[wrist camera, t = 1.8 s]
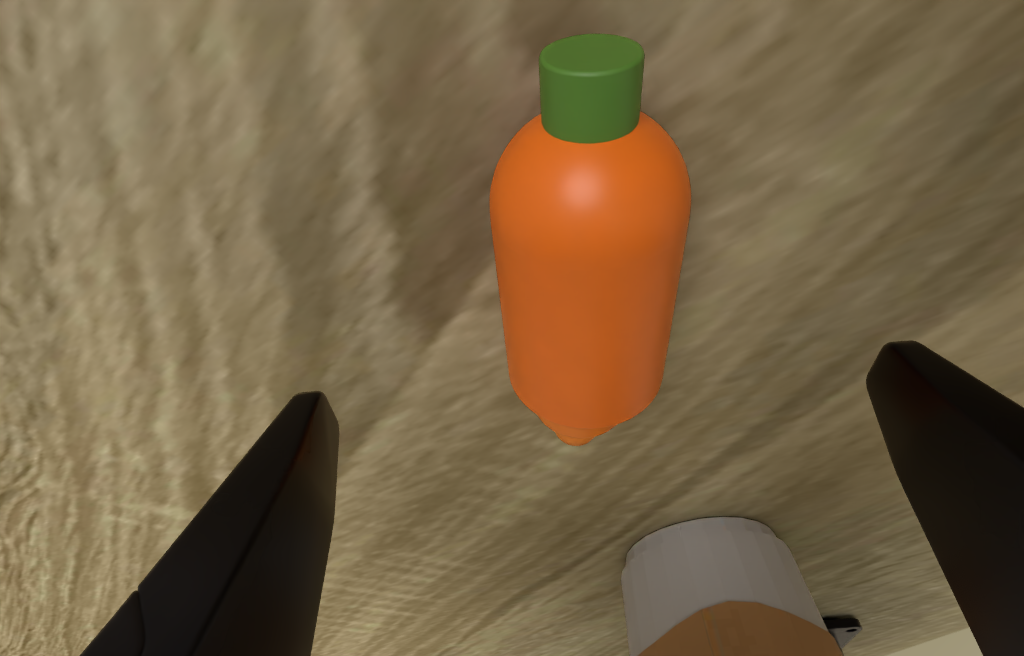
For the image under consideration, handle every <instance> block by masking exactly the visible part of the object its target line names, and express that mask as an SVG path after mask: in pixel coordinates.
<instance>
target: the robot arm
mask: <svg viewBox="0 0 1024 656" xmlns="http://www.w3.org/2000/svg"><path fill="white" fill-rule="evenodd" d="M866 385H867V390H868V394H869V396H870V399H871V402H872V405H873V408H874V411H875V414H876V417H877V420H878V423H879V425H880V428H881V431H882V434H883V437H884V440H885V443H886V446H887V449H888V452H889V454H890V457H891V460H892V463H893V465H894V468H895V471H896V473H897V476H898V478H899V480H900V482H901V484H902V487H903V489H904V491H905V493H906V495H907V497H908V499H909V501H910V503H911V506H912V508H913V510H914V512H915V514H916V516H917V518H918V520H919V522H920V524H921V526H922V529H923V531H924V533H925V535H926V537H927V539H928V541H929V543H930V545H931V547H932V549H933V552H934V554H935V556H936V558H937V560H938V562H939V564H940V566H941V568H942V570H943V572H944V575H945V577H946V579H947V581H948V583H949V585H950V587H951V589H952V591H953V593H954V596H955V598H956V600H957V602H958V604H959V606H960V608H961V610H962V612H963V614H964V616H965V619H966V621H967V623H968V625H969V627H970V629H971V631H972V633H973V635H974V637H975V639H976V641H977V643H978V646H979V648H980V650H981V652H982V654H983V656H1024V408H1023V407H1022V406H1020V405H1018V404H1017V403H1015V402H1014V401H1012V400H1010V399H1009V398H1007V397H1006V396H1004V395H1002V394H1001V393H999V392H998V391H996V390H994V389H993V388H991V387H990V386H988V385H986V384H985V383H983V382H982V381H980V380H978V379H977V378H975V377H974V376H972V375H970V374H969V373H967V372H966V371H964V370H962V369H961V368H959V367H958V366H956V365H954V364H953V363H951V362H950V361H948V360H946V359H945V358H943V357H942V356H940V355H938V354H937V353H935V352H934V351H932V350H930V349H929V348H927V347H926V346H924V345H922V344H920V343H919V342H916V341H897V342H889V343H887V344H885V345H884V346H883V347H882V349H881V351H880V352H879V354H878V356H877V358H876V360H875V361H874V363H873V365H872V367H871V369H870V371H869V372H868V375H867V379H866ZM338 447H339V425H338V421H337V418H336V416H335V414H334V412H333V410H332V408H331V406H330V404H329V402H328V400H327V398H326V396H325V395H324V393H322V392H321V391H313V392H302V393H298V394H296V395H295V396H293V398H292V399H291V400H290V401H289V402H288V404H287V405H286V406H285V407H284V408H283V410H282V411H281V412H280V413H279V415H278V416H277V417H276V418H275V419H274V421H273V422H272V423H271V424H270V426H269V427H268V428H267V429H266V430H265V432H264V433H263V434H262V435H261V437H260V438H259V439H258V440H257V441H256V443H255V444H254V445H253V446H252V448H251V449H250V450H249V451H248V452H247V454H246V455H245V456H244V457H243V459H242V460H241V461H240V462H239V463H238V465H237V466H236V467H235V468H234V470H233V471H232V472H231V473H230V474H229V476H228V477H227V478H226V479H225V481H224V482H223V483H222V484H221V485H220V487H219V488H218V489H217V490H216V492H215V493H214V494H213V495H212V496H211V498H210V499H209V500H208V501H207V503H206V504H205V505H204V506H203V507H202V509H201V510H200V511H199V512H198V514H197V515H196V516H195V517H194V518H193V520H192V521H191V522H190V523H189V525H188V526H187V527H186V528H185V529H184V531H183V532H182V533H181V534H180V536H179V537H178V538H177V539H176V540H175V542H174V543H173V544H172V545H171V547H170V548H169V549H168V550H167V551H166V553H165V554H164V555H163V556H162V558H161V559H160V560H159V561H158V562H157V564H156V565H155V566H154V567H153V569H152V570H151V571H150V572H149V573H148V575H147V576H146V577H145V578H144V580H143V581H142V582H141V583H140V584H139V586H138V591H134V592H133V593H132V594H131V595H130V596H129V598H128V599H127V600H126V601H125V602H124V604H123V605H122V606H121V607H120V609H119V610H118V611H117V612H116V613H115V615H114V616H113V617H112V618H111V619H110V621H109V622H108V623H107V624H106V625H105V626H104V628H103V629H102V630H101V631H100V632H99V634H98V635H97V636H96V637H95V638H94V639H93V641H92V642H91V643H90V644H89V645H88V646H87V648H86V649H85V650H84V651H83V652H82V653H81V655H80V656H311V650H312V644H313V639H314V633H315V627H316V622H317V616H318V610H319V605H320V599H321V593H322V587H323V582H324V576H325V570H326V565H327V559H328V553H329V548H330V542H331V536H332V530H333V523H334V514H335V500H336V482H337V464H338ZM823 621H824V623H825V626H826V628H827V630H828V632H829V633H830V634H831V635H832V636H833V637H834V638H835V640H836V643H837V645H838V647H839V649H840V651H841V653H842V655H843V656H844V654H843V652H842V650H841V649H842V648H843V647H844V646H845V645H846V644H847V643H848V642H849V641H850V640H851V639H852V638H854V637H855V636H856V635H857V634H858V633H859V632H860V631H861V630H862V627H861V625H860V622H859V620H858V619H856V618H850V619H836V620H823Z"/></svg>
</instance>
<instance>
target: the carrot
mask: <svg viewBox="0 0 1024 656" xmlns="http://www.w3.org/2000/svg"><path fill="white" fill-rule="evenodd" d="M644 56H645V55H644V51H643V48H642V47H641V45H640V44H638V43H637V42H635V41H633V40H631V39H629V38H625V37H621V36H617V35H610V34H584V35H576V36H571V37H567V38H564V39H560V40H558V41H555V42H553V43H551V44H549V45H548V46H546V47H545V48H544V49H543V50H542V51H541V53H540V56H539V76H540V100H541V114H540V115H538V116H536V117H535V118H533V119H532V120H531V121H530V122H528V123H527V124H526V125H524V126H523V127H522V128H521V129H520V130H519V131H518V132H517V133H516V135H515V136H514V137H513V138H512V140H511V141H510V142H509V144H508V145H507V147H506V149H505V150H504V152H503V154H502V156H501V157H500V159H499V162H498V164H497V166H496V169H495V172H494V176H493V180H492V184H491V189H490V220H491V228H492V236H493V245H494V253H495V261H496V270H497V278H498V286H499V294H500V303H501V311H502V319H503V327H504V336H505V344H506V352H507V361H508V369H509V376H510V380H511V384H512V386H513V389H514V391H515V392H516V394H517V396H518V397H519V398H520V400H521V401H522V402H523V403H524V404H525V405H526V406H527V407H528V408H529V409H530V410H531V411H533V412H534V413H536V414H537V415H538V416H539V418H540V419H541V421H542V422H543V423H544V424H545V425H546V426H547V427H549V428H550V429H551V430H553V431H555V433H556V435H557V436H558V438H559V439H560V440H561V441H563V442H564V443H566V444H568V445H572V446H580V445H584V444H586V443H588V442H590V441H591V440H592V439H593V438H594V437H595V436H598V435H601V434H603V433H606V432H607V431H609V430H611V429H612V428H613V427H614V426H616V425H617V424H619V423H622V422H624V421H627V420H629V419H631V418H632V417H634V416H636V415H637V414H639V413H640V412H641V411H643V410H644V409H645V408H646V407H647V406H648V405H649V404H650V403H651V402H652V401H653V399H654V398H655V396H656V395H657V393H658V391H659V389H660V386H661V383H662V379H663V373H664V367H665V361H666V355H667V349H668V343H669V337H670V331H671V325H672V319H673V313H674V307H675V301H676V295H677V289H678V284H679V278H680V272H681V266H682V260H683V254H684V248H685V242H686V236H687V230H688V224H689V218H690V210H691V186H690V181H689V176H688V172H687V167H686V165H685V162H684V160H683V158H682V155H681V153H680V151H679V149H678V147H677V146H676V144H675V143H674V141H673V140H672V138H671V137H670V136H669V135H668V133H667V132H666V131H665V130H664V129H663V128H662V127H661V126H660V125H659V124H658V123H657V122H655V121H654V120H653V119H652V118H650V117H649V116H647V115H646V114H644V113H643V112H641V111H640V105H641V93H642V81H643V68H644Z"/></svg>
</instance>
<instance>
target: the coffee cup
mask: <svg viewBox="0 0 1024 656" xmlns="http://www.w3.org/2000/svg"><path fill="white" fill-rule="evenodd" d="M621 583H622V592H623V601H624V610H625V618H626V627H627V636H628V645H629V653H630V656H843V655H842V653H841V651H840V649H839V647H838V645H837V643H836V640H835V638H834V637H833V636H832V635H831V634H830V633H829V632H828V630H827V628H826V626H825V623H824V621H823V619H822V617H821V615H820V613H819V611H818V608H817V606H816V604H815V602H814V600H813V598H812V596H811V594H810V591H809V589H808V587H807V585H806V583H805V581H804V579H803V577H802V574H801V572H800V570H799V568H798V566H797V564H796V562H795V559H794V557H793V555H792V553H791V551H790V549H789V548H788V546H787V545H786V544H785V543H784V541H782V540H780V539H778V538H776V536H775V534H774V533H773V531H772V530H771V529H770V528H769V527H768V526H766V525H764V524H762V523H760V522H758V521H754V520H749V519H745V518H734V517H715V518H703V519H697V520H692V521H687V522H682V523H678V524H675V525H672V526H669V527H666V528H662V529H660V530H658V531H656V532H654V533H652V534H650V535H648V536H645V537H644V538H643V539H641V540H640V541H639V542H637V543H636V544H635V545H633V547H632V548H631V549H630V551H629V552H628V553H627V557H626V566H625V568H624V569H623V570H622V576H621Z"/></svg>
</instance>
